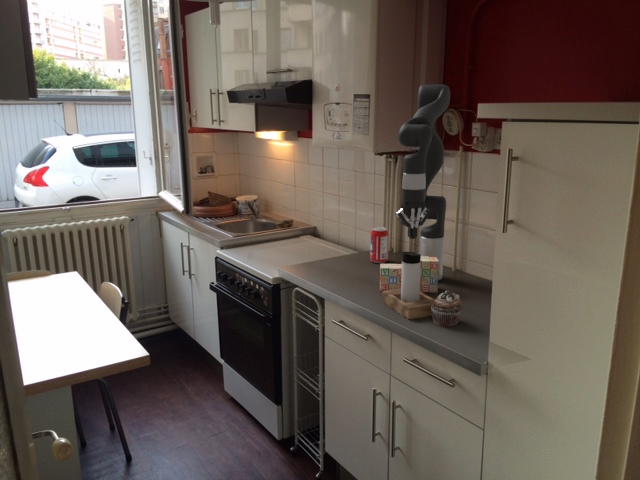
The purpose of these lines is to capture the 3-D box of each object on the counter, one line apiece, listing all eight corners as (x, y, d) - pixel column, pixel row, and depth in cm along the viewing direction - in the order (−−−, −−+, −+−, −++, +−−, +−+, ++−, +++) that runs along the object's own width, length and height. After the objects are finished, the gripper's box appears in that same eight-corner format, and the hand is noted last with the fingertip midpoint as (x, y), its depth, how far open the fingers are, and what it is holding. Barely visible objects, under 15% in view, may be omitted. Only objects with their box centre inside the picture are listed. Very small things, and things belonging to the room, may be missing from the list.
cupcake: (439, 313, 184) (440, 285, 181) (466, 320, 178) (467, 291, 175) (424, 322, 177) (425, 292, 174) (451, 330, 171) (453, 299, 168)
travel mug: (396, 307, 189) (397, 251, 185) (408, 303, 194) (410, 248, 189) (410, 312, 185) (411, 255, 180) (422, 308, 189) (424, 252, 184)
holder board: (382, 301, 195) (382, 291, 194) (411, 297, 200) (411, 286, 199) (408, 319, 179) (408, 308, 178) (439, 314, 183) (440, 302, 182)
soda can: (383, 264, 240) (384, 231, 236) (367, 262, 244) (367, 229, 240) (390, 260, 246) (391, 227, 243) (374, 258, 250) (375, 226, 247)
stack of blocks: (380, 291, 206) (380, 260, 203) (379, 286, 212) (380, 255, 209) (437, 292, 205) (439, 260, 202) (435, 287, 211) (437, 256, 208)
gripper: (425, 184, 185) (423, 234, 189) (390, 186, 180) (389, 238, 184) (437, 187, 178) (435, 239, 182) (401, 189, 173) (400, 243, 178)
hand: (412, 238), depth 183 cm, fingers closed
